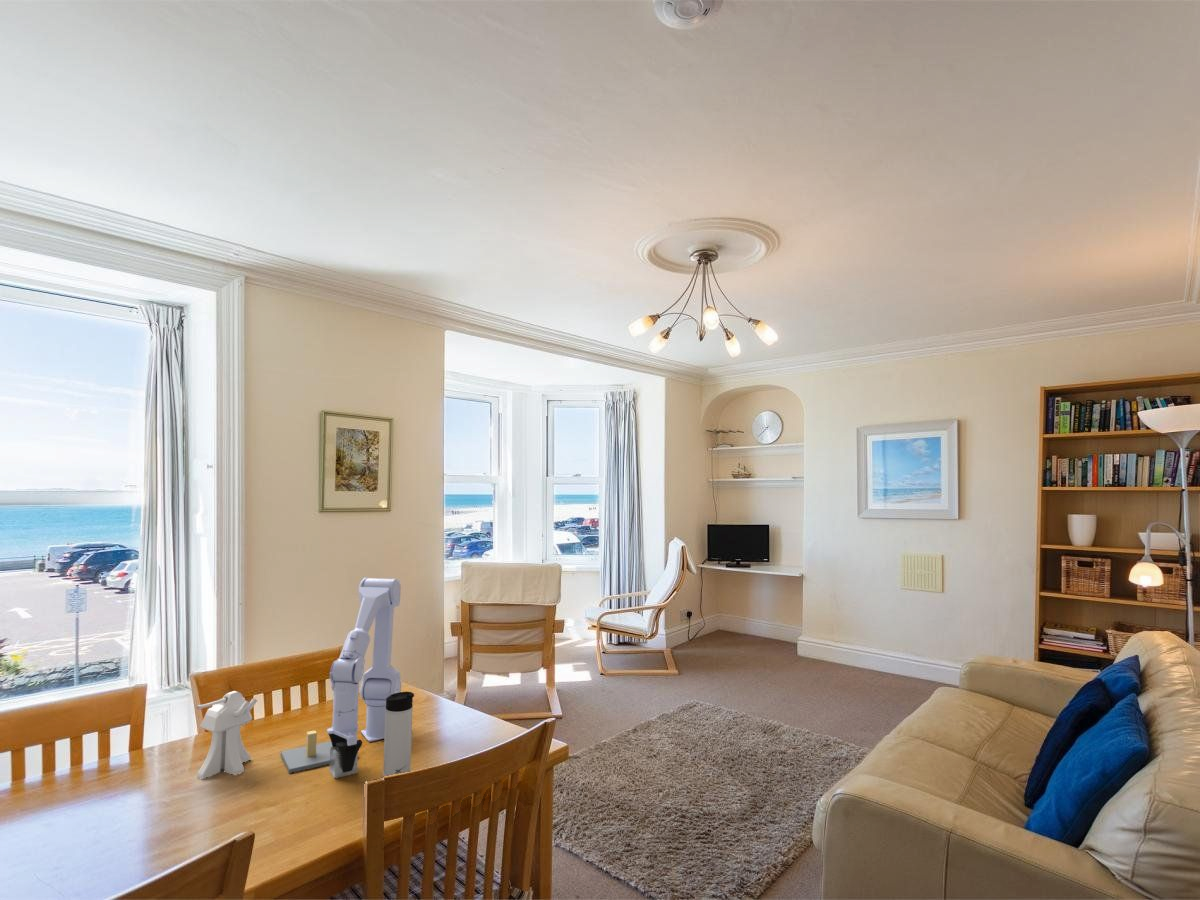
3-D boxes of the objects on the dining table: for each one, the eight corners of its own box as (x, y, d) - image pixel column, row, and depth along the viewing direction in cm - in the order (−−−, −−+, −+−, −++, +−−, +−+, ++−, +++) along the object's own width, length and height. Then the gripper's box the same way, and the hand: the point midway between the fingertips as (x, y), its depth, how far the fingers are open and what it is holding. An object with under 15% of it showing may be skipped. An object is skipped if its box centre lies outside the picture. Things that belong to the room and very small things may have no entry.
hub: (351, 765, 160) (352, 742, 160) (357, 773, 156) (357, 750, 156) (329, 770, 157) (330, 747, 157) (334, 778, 153) (335, 755, 153)
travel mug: (403, 785, 150) (406, 698, 151) (377, 782, 151) (380, 696, 152) (416, 773, 156) (419, 690, 157) (391, 770, 158) (394, 687, 158)
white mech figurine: (179, 774, 153) (183, 697, 154) (233, 753, 165) (237, 682, 166) (209, 786, 147) (213, 707, 148) (263, 764, 159) (266, 690, 160)
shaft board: (345, 741, 174) (346, 717, 174) (357, 757, 164) (358, 732, 164) (280, 755, 164) (281, 729, 165) (289, 773, 155) (290, 746, 155)
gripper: (321, 702, 160) (319, 757, 160) (335, 721, 149) (333, 781, 148) (350, 697, 164) (348, 751, 164) (366, 715, 153) (364, 773, 152)
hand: (343, 765), depth 156 cm, fingers open, 7 cm apart
